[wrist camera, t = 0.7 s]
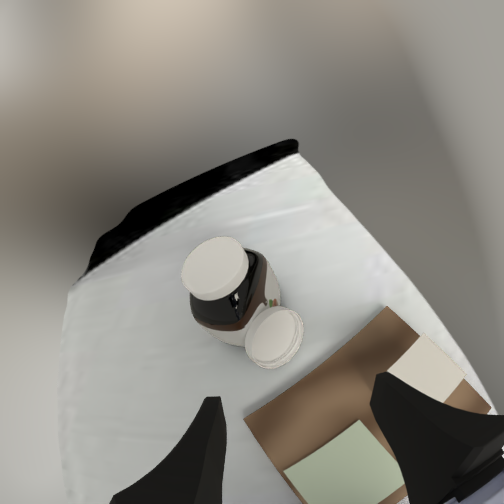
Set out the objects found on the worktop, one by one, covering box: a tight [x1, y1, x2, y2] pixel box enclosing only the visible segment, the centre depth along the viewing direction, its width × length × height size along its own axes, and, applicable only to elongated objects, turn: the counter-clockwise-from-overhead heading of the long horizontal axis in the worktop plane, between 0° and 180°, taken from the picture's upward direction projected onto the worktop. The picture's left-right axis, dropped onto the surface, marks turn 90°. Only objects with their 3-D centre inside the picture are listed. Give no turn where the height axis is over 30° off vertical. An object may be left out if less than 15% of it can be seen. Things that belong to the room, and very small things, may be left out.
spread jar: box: [181, 236, 304, 369], centre depth 29 cm, size 12×11×12 cm
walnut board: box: [244, 306, 491, 504], centre depth 21 cm, size 18×20×1 cm
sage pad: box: [283, 420, 405, 504], centre depth 18 cm, size 9×9×1 cm
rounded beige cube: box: [387, 333, 467, 403], centre depth 19 cm, size 6×6×6 cm
